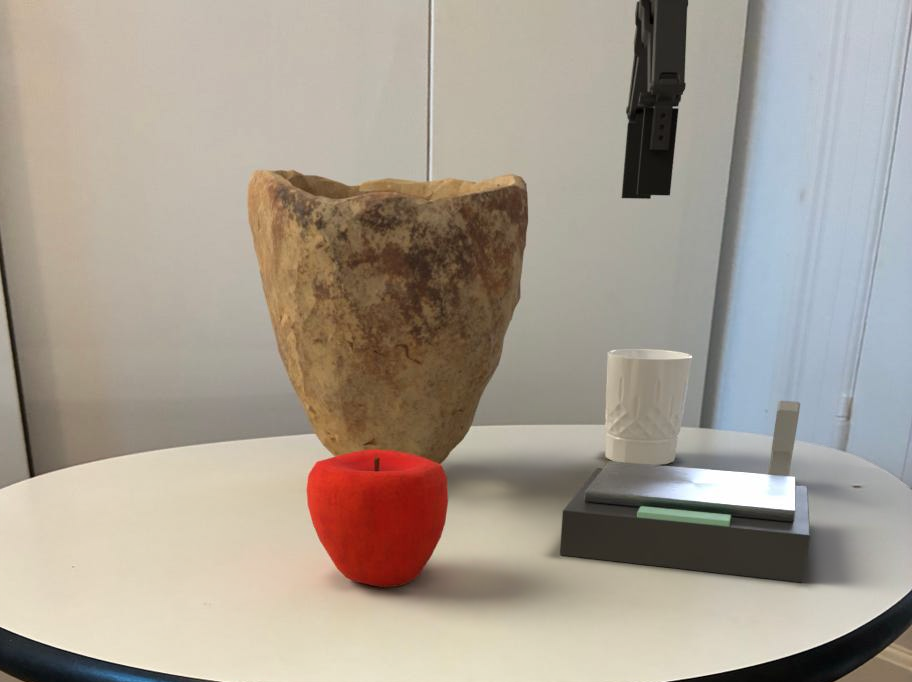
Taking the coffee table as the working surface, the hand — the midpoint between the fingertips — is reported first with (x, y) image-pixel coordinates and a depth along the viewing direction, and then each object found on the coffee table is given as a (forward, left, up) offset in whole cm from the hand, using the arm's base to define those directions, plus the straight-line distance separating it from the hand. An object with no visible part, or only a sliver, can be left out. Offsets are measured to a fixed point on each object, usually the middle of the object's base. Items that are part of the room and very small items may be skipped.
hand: (643, 197), depth 92 cm
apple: (+9, +43, -24) cm, 50 cm away
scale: (-9, +27, -24) cm, 37 cm away
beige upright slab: (-15, +8, -24) cm, 29 cm away
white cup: (-2, 0, -24) cm, 24 cm away
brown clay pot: (+18, +17, -24) cm, 35 cm away
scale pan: (-9, +27, -20) cm, 35 cm away
